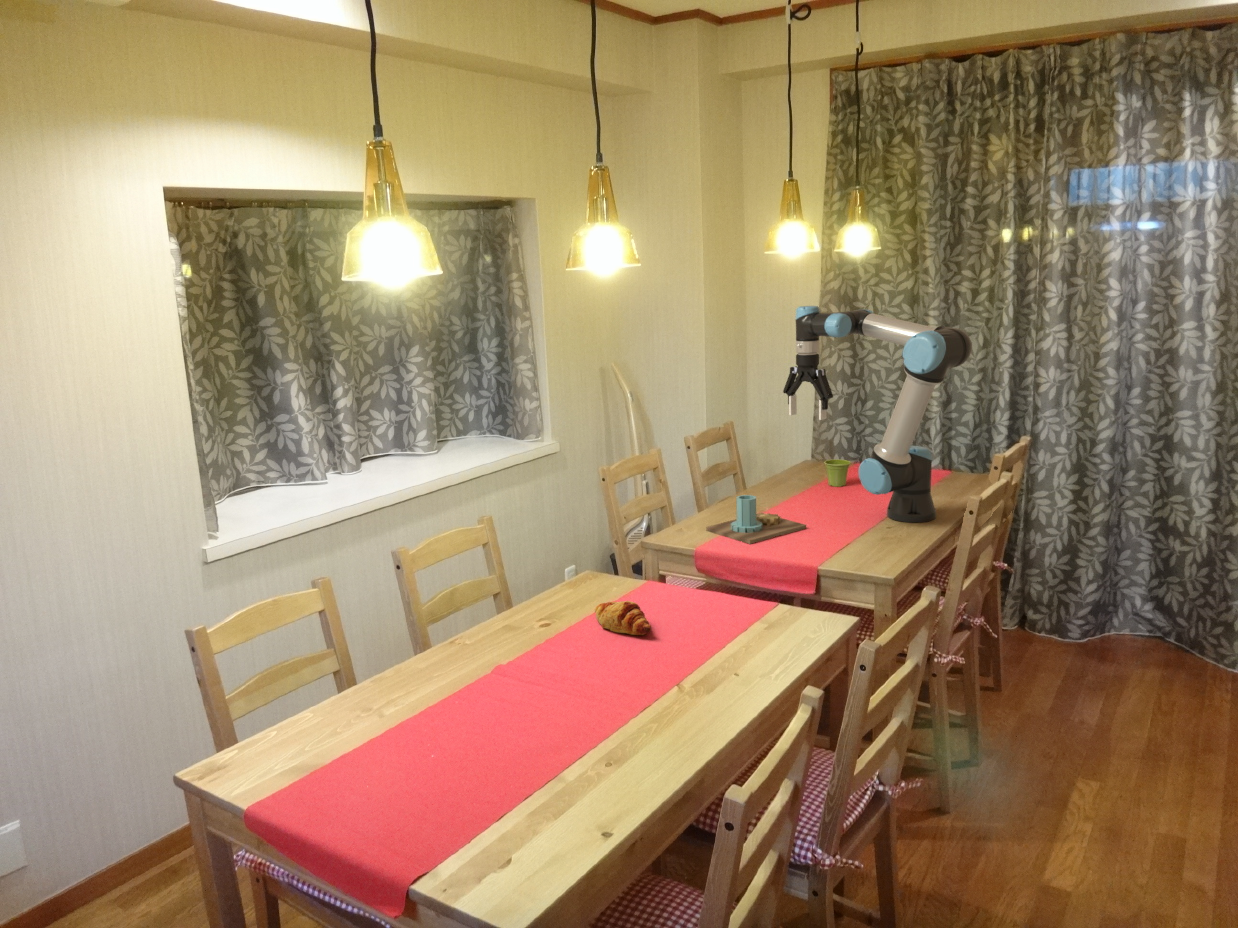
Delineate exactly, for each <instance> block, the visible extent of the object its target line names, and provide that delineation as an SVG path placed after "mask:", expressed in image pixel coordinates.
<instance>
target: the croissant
mask: <svg viewBox="0 0 1238 928" xmlns="http://www.w3.org/2000/svg"><path fill="white" fill-rule="evenodd" d="M594 613H595V617H596V620H597V621H598V623H599V624H600V625H601V628H603V629H606V630H609V631H610V632H614V633H619V634H627V635H631V636H644V635H646V634H649V633H650V632H651V631H652V625H651V624H650V622H649V620H647V618H646V616H645V613H644V612H643V610H642V609H641V607H640V606H639V604H638V603H636V602H634V601H630V600H626V601H624V600H623V601H608V602H601V603H599V604H598V605H597V606H596V607H595V609H594Z"/></svg>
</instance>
